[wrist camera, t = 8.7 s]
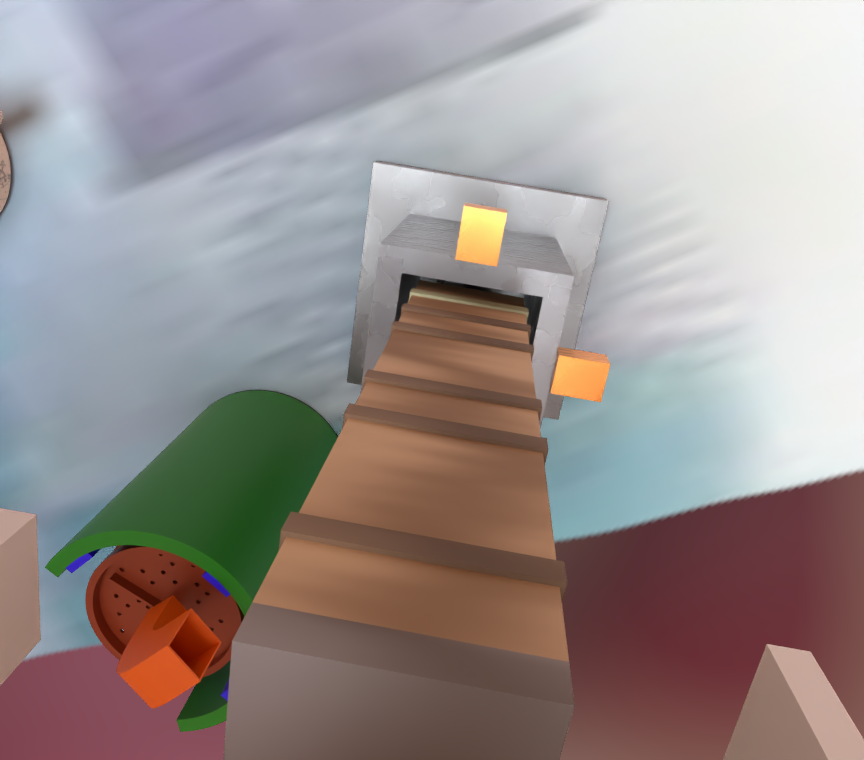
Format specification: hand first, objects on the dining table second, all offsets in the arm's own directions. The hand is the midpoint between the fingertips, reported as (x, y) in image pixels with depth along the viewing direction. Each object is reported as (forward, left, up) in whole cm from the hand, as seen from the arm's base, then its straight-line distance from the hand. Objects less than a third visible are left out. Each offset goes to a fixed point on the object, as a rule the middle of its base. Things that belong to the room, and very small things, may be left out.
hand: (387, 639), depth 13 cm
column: (0, 0, -19) cm, 19 cm away
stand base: (0, 0, -29) cm, 29 cm away
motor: (-10, -12, -29) cm, 33 cm away
